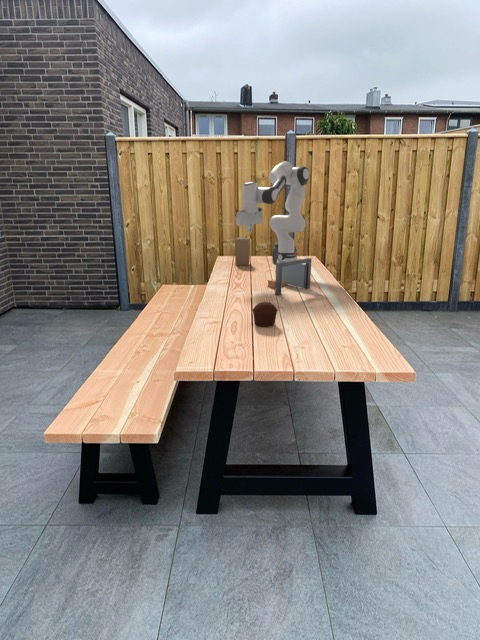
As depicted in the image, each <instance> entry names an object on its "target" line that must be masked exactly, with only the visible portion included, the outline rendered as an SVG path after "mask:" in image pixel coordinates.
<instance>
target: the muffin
mask: <svg viewBox="0 0 480 640" xmlns="http://www.w3.org/2000/svg"><path fill="white" fill-rule="evenodd" d="M251 311H252V313H253V314H252V315H253V322H254V325H255V326H256V327H258V328H272V327H274V326H275V324H276V319H277V313H278V311H279V310H278V308H277V307H276V305H275V304H273V303H272V302H269V301H263V302H262V301H261V302H259V303H258V304H256V305H254V307H253V309H252V310H251Z"/></svg>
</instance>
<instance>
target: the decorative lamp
mask: <svg viewBox="0 0 480 640" xmlns="http://www.w3.org/2000/svg"><path fill="white" fill-rule="evenodd" d="M291 233H292V232H288V234H289V236H290V237H291V235H290V234H291ZM294 252H298V250H297V247H296V245H295V246H294ZM277 254H278V241H276V242H275V243H274V246H273V247H272V255H271V257H272V259H271V260H272V263H273V264H274V265H276V263H277V259H278V257H277V256H278V255H277ZM296 258H297V259H298V255H296Z"/></svg>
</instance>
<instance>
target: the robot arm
mask: <svg viewBox="0 0 480 640" xmlns="http://www.w3.org/2000/svg"><path fill="white" fill-rule="evenodd" d="M268 176H269V181H270V183H271V184H272V185H273V186H270V187H266V186H263V187H262V186H258V185H257V184H256V182H255V181H247V182H244V184H243V185H242V191H241V193H242V195H241V197H242V207H241V208H242V209H241V210H238V211H237V212H236V218H235V224H236V226H238V227H241V226H245V229H246V232H247V233H251V232H253V228H254V226H255V225H258V224H262V223H263V221H264V216H263V208H262V207H260V206H257V203H258V204H266V205H273V204H274V203H275V202H276V200H277V199H278V196H279V195H280V193H281V192H282V190H283V189H284V188H285V186H290V189H289V192H288V194H287V198H286V201H285V202H284V209H285V210H286V211H287V212H288V213H289V214H276V215H273V216H271V217H270V220H269V227H270V228H271V230H272V231H274V233H275V235H276V237H277V238H276V239H277V242H278V254H277V255H278V256H277V257H278V259H277V263H279V261H280V260H284V261H293V260H299V259H298V257H297V258H296V255H297V256H299V252H298V251H297V252H294V246H295V247H296V243H295V240H294V238H292V237H291V235H290V234H288V232H291V233H299V232H303V231H304V230H305V228H306V220H305V218H304V217H303V216H302V214H301V213H302V212H301V209H302V206H303V202H304V200H305V194H306V186H305V185H306V184H307V183H308V181H309V178H310V171H309V168H308V167H306V166H304V165H303V166H301V165H300V166H293V165H292V163H291V162H289V161H288V160H285V161H284V160H283V161H282V162H280V163H278V164H277V165H276V166H274V167H273V168H272V169H271V170H270V172H269V174H268ZM289 235H290V236H289ZM274 271H275V273H276V268H275V270H274Z"/></svg>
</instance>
